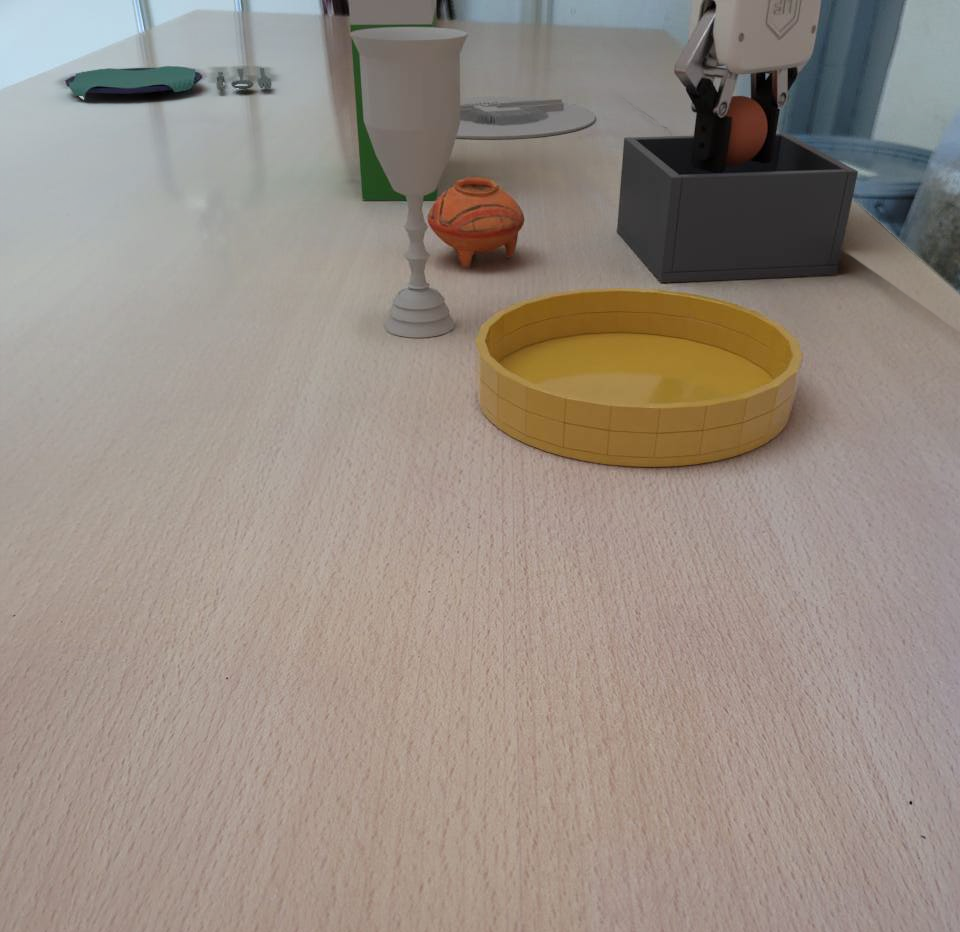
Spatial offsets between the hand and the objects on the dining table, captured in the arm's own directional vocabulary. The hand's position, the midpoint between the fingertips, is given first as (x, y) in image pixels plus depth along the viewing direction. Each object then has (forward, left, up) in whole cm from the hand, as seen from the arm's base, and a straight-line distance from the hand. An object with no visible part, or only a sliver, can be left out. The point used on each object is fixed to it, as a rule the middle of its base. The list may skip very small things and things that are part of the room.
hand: (731, 162), depth 81 cm
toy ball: (0, 0, +2) cm, 2 cm away
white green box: (+25, -30, -7) cm, 40 cm away
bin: (0, 0, -7) cm, 7 cm away
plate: (+11, -63, -7) cm, 64 cm away
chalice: (+27, +14, -7) cm, 31 cm away
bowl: (+15, +28, -7) cm, 33 cm away
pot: (+21, -1, -7) cm, 22 cm away
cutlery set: (+56, -91, -7) cm, 107 cm away
